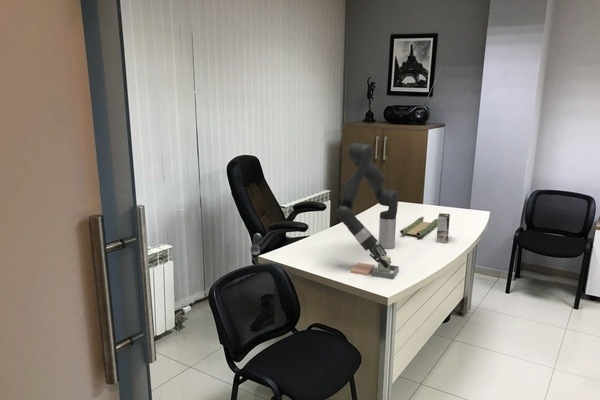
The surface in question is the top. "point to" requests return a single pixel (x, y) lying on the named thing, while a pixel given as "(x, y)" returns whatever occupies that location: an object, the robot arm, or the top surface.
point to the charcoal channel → (387, 275)
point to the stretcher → (419, 227)
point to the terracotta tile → (362, 268)
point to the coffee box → (443, 228)
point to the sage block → (381, 267)
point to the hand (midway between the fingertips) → (388, 265)
